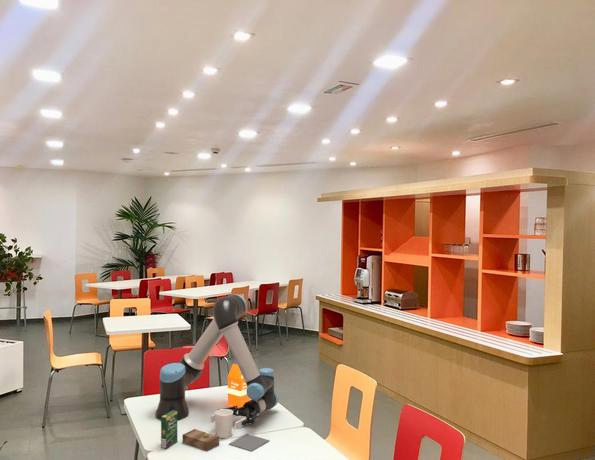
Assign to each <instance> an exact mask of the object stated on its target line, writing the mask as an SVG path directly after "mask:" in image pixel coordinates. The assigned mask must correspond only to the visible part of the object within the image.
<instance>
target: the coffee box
mask: <svg viewBox="0 0 595 460" xmlns="http://www.w3.org/2000/svg"><path fill="white" fill-rule="evenodd" d="M160 432H161V433H160V447H161V449H163V448H164V450H167V449H169V448H170V447H171V446H173V445H174V444H176V443H177V442H178V420H177V411H174V410H172V411H170V412H169V413H167V414H165V415H164V416H162V417H161V420H160Z"/></svg>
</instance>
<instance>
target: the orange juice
mask: <svg viewBox="0 0 595 460" xmlns="http://www.w3.org/2000/svg"><path fill="white" fill-rule="evenodd" d="M246 390H247V385H246V382H245V380H244V378H243V376H242V374H241V371H240V369H239V367H238V365H237V363H232V366H231V368H230V370H229V373H228V375H227V405H228V406H229V407H233V406H236V405H237V407H238V408H240V407H243V405H244V404H245V403H246V402H248V401H250V400H251V399H250V398H249V397H248V396H247V393H246Z"/></svg>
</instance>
